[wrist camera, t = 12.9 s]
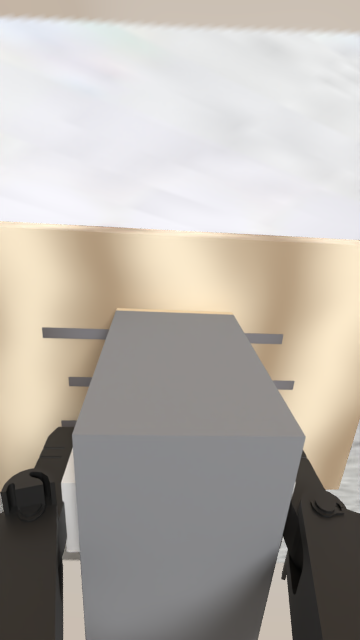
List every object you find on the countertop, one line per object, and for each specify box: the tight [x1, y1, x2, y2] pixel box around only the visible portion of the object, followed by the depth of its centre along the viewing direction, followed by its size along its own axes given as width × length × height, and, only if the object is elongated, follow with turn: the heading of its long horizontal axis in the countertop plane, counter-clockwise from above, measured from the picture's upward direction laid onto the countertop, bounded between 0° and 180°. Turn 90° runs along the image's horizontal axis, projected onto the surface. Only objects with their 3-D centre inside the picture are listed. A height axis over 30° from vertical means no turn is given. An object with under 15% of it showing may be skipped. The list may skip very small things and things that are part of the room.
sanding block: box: [72, 308, 306, 640], centre depth 12 cm, size 8×5×8 cm, turn 177°
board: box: [0, 221, 360, 492], centre depth 17 cm, size 28×14×2 cm, turn 87°
